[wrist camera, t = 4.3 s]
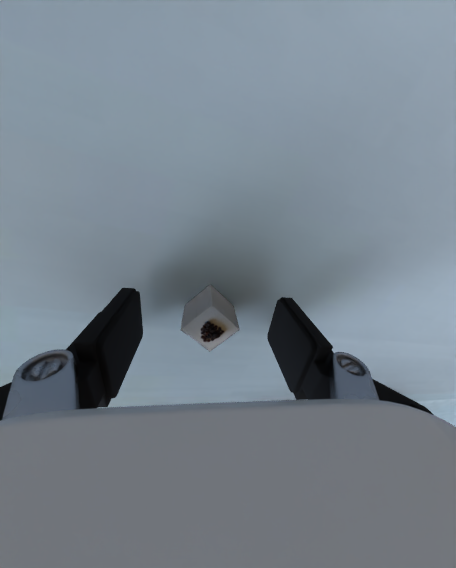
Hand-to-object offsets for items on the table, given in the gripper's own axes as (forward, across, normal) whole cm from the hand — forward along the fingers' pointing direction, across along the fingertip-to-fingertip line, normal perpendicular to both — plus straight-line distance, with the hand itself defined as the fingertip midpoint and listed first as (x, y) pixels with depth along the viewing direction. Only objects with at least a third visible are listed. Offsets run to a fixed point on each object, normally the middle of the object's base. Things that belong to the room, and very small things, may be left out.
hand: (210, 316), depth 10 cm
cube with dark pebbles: (+1, 0, 0) cm, 1 cm away
